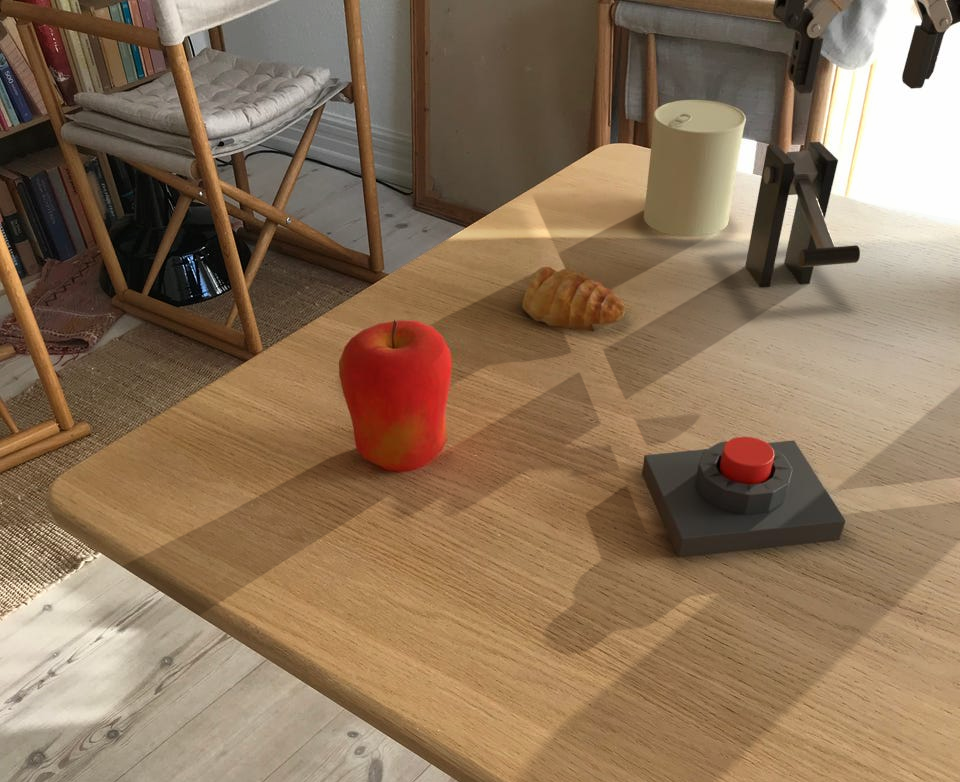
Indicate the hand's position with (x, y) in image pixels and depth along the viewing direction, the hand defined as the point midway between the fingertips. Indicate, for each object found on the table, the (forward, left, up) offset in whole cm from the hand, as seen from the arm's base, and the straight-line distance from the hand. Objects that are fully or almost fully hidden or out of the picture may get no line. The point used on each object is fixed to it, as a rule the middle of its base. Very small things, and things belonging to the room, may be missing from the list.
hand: (857, 87), depth 77 cm
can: (+2, -27, -23) cm, 35 cm away
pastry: (+18, -11, -23) cm, 31 cm away
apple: (+36, +9, -23) cm, 44 cm away
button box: (+12, +20, -22) cm, 32 cm away
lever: (-3, -9, -14) cm, 17 cm away
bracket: (-3, -13, -22) cm, 26 cm away
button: (+12, +20, -19) cm, 30 cm away
